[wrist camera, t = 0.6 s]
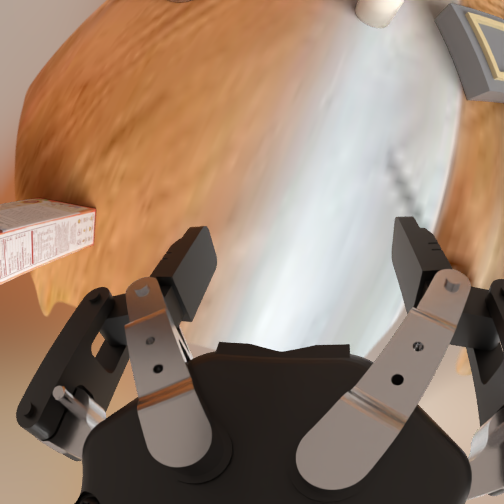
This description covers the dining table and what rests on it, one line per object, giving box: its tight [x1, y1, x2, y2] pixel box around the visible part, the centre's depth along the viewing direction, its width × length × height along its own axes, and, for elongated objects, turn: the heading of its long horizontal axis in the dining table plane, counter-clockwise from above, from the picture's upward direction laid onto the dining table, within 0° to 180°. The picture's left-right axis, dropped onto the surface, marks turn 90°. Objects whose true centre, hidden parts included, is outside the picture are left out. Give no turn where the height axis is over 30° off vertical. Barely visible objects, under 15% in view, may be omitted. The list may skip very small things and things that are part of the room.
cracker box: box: [0, 198, 96, 285], centre depth 28 cm, size 14×6×21 cm, turn 79°
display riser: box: [435, 3, 504, 103], centre depth 21 cm, size 14×14×7 cm
